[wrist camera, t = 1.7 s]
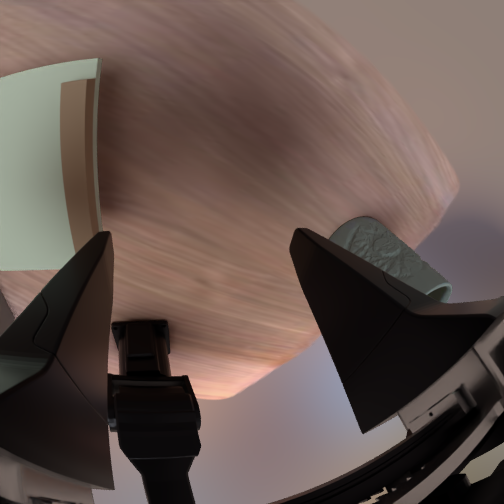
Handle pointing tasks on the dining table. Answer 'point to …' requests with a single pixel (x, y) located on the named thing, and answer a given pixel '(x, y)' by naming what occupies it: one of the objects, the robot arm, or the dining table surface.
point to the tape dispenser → (5, 314)
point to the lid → (48, 164)
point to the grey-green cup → (391, 256)
